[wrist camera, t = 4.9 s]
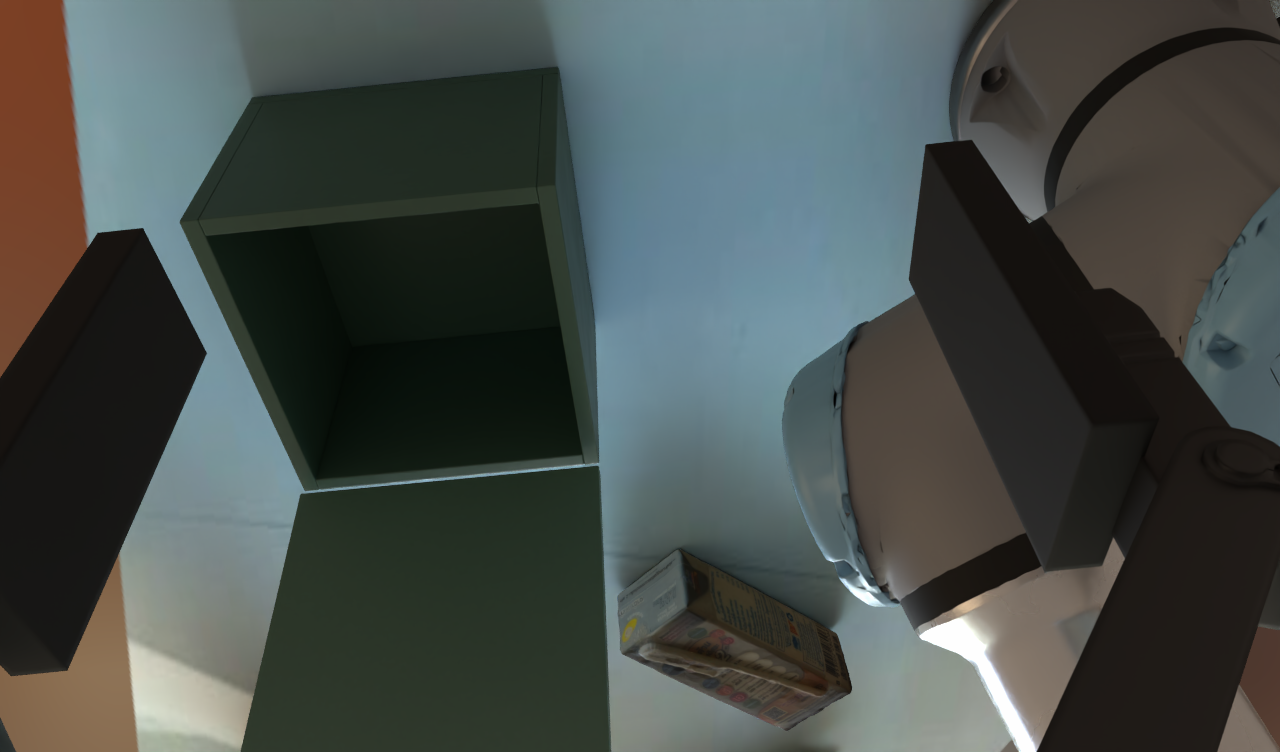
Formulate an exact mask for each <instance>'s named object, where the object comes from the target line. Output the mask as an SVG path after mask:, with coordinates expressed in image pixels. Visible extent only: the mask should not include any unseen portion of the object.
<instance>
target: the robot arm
mask: <svg viewBox="0 0 1280 752" xmlns="http://www.w3.org/2000/svg"><path fill="white" fill-rule="evenodd" d="M949 116H950V126H951V131H952V136H953V139H954V142H944V143H935V144H926V146H925V154H924V162H923V170H922V178H921V186H920V194H919V202H918V210H917V218H916V226H915V234H914V242H913V250H912V258H911V266H910V274H909V281H910V283H911V285H912V287H913V290H914V292H915V295H913V296H911V297H910V298H908V299H907V300H905V301H903V302H902V303H900V304H898V305H897V306H895V307H893V308H892V309H890V310H888V311H887V312H885V313H883V314H882V315H880V316H878V317H877V318H875V319H873V320H872V321H870V322H868V321H866V322H863V323H861V324H859V325H857V326H856V327H853V328H852V329H851V330H850V331H849V332H848V334H847V335H846V337H845V338H844V339H843V340H841V341H840V342H839V343H837V344H836V345H834V346H833V347H832V348H830V349H829V350H828V351H826V352H825V353H823V354H822V355H820V356H819V357H817V358H816V359H814V360H813V361H812V362H810V363H809V364H807V365H806V366H805V367H803V368H802V369H801V370H800V371H799V372H798V373H797V375H796V376H795V377H794V379H793V380H792V382H791V384H790V386H789V388H788V391H787V395H786V398H785V401H784V412H783V418H782V432H783V443H784V449H785V455H786V460H787V464H788V469H789V473H790V477H791V480H792V484H793V487H794V490H795V493H796V496H797V499H798V501H799V504H800V507H801V509H802V512H803V514H804V517H805V519H806V522H807V524H808V526H809V528H810V530H811V533H812V535H813V537H814V539H815V541H816V543H817V545H818V546H819V548H820V550H821V552H822V553H823V555H824V556H825V558H826V559H827V560H829V561H832V562H834V565H835V568H836V571H837V574H838V577H839V579H840V580H841V581H842V583H843V584H844V585H845V586H846V587H847V588H848V590H849V591H850V592H851V593H852V594H854V595H855V596H856V597H857V598H859V599H860V600H862V601H864V602H865V603H867V604H868V605H871V606H876V607H880V606H886V607H897V606H899V605H902V607H903V609H904V611H905V613H906V615H907V617H908V619H909V621H910V623H911V625H912V627H913V629H914V631H915V632H916V634H917V635H918V637H919V638H920V639H922V640H925V641H927V642H930V643H932V644H935V645H938V646H940V647H943V648H945V649H948V650H950V651H953V652H955V653H958V654H960V655H961V656H963V657H964V658H965V659H967V660H968V661H969V662H971V663H972V664H973V666H974V668H975V670H976V672H977V674H978V676H979V677H980V679H981V681H982V683H983V685H984V687H985V689H986V691H987V693H988V694H989V696H990V698H991V700H992V702H993V704H994V706H995V708H996V710H997V712H998V713H999V715H1000V717H1001V719H1002V721H1003V723H1004V725H1005V727H1006V729H1007V730H1008V732H1009V734H1010V736H1011V738H1012V740H1013V742H1014V744H1015V746H1016V747H1017V749H1018V751H1019V752H1280V748H1279V747H1278V745H1277V743H1276V742H1275V740H1274V739H1273V737H1272V736H1271V734H1270V732H1269V731H1268V729H1267V728H1266V726H1265V724H1264V723H1263V721H1262V720H1261V718H1260V717H1259V715H1258V714H1257V712H1256V710H1255V709H1254V707H1253V706H1252V704H1251V702H1250V701H1249V699H1248V698H1247V696H1246V694H1245V693H1244V691H1243V690H1242V688H1241V687H1240V685H1239V683H1240V680H1241V677H1242V674H1243V670H1244V668H1245V665H1246V661H1247V658H1248V655H1249V652H1250V649H1251V646H1252V643H1253V640H1254V636H1255V634H1256V630H1257V627H1258V626H1259V627H1265V628H1270V629H1276V630H1280V17H1279V18H1277V19H1276V17H1275V14H1274V12H1273V9H1272V7H1271V4H1270V2H1269V0H993V2H992V3H991V4H990V6H989V7H988V8H987V10H986V11H985V12H984V13H983V15H982V16H981V18H980V19H979V21H978V22H977V24H976V26H975V27H974V29H973V30H972V32H971V34H970V36H969V38H968V40H967V41H966V44H965V46H964V48H963V50H962V53H961V55H960V57H959V60H958V63H957V66H956V69H955V72H954V76H953V81H952V85H951V92H950V101H949ZM1025 217H1026V218H1028V219H1030V220H1032V221H1033V222H1031V223H1028V222H1027V220H1026V219H1025ZM206 354H207V353H206V351H205V349H204V347H203V345H202V343H201V341H200V339H199V337H198V335H197V333H196V331H195V329H194V327H193V325H192V323H191V321H190V319H189V317H188V315H187V313H186V311H185V309H184V308H183V306H182V304H181V302H180V300H179V298H178V296H177V294H176V292H175V290H174V288H173V286H172V284H171V282H170V280H169V278H168V276H167V274H166V272H165V270H164V268H163V266H162V264H161V262H160V261H159V259H158V257H157V255H156V253H155V251H154V249H153V247H152V245H151V243H150V241H149V239H148V237H147V235H146V233H145V231H144V229H143V228H139V229H130V230H120V231H111V232H102V233H97V235H96V236H95V238H94V239H93V241H92V242H91V244H90V245H89V247H88V248H87V250H86V251H85V253H84V254H83V256H82V257H81V259H80V260H79V262H78V263H77V265H76V266H75V268H74V269H73V271H72V272H71V274H70V275H69V276H68V278H67V279H66V281H65V283H64V284H63V285H62V287H61V288H60V290H59V291H58V293H57V294H56V296H55V297H54V299H53V300H52V302H51V303H50V305H49V306H48V308H47V309H46V311H45V312H44V314H43V315H42V317H41V318H40V320H39V321H38V323H37V324H36V325H35V327H34V329H33V330H32V332H31V333H30V334H29V336H28V337H27V339H26V340H25V342H24V344H23V345H22V347H21V348H20V350H19V351H18V352H17V354H16V355H15V357H14V358H13V360H12V361H11V363H10V364H9V366H8V367H7V369H6V370H5V372H4V373H3V375H2V376H1V378H0V665H1V666H2V667H3V668H4V669H5V670H6V671H7V672H8V674H10V676H18V675H28V674H37V673H48V672H58V671H67V670H68V668H69V666H70V663H71V661H72V659H73V656H74V654H75V652H76V650H77V647H78V645H79V643H80V641H81V638H82V636H83V634H84V631H85V629H86V627H87V625H88V622H89V620H90V618H91V615H92V613H93V611H94V609H95V606H96V604H97V601H98V600H99V597H100V595H101V593H102V590H103V588H104V586H105V584H106V581H107V579H108V577H109V575H110V572H111V570H112V568H113V566H114V563H115V561H116V559H117V556H118V554H119V552H120V550H121V547H122V545H123V543H124V541H125V538H126V536H127V534H128V531H129V529H130V527H131V525H132V522H133V520H134V518H135V516H136V513H137V511H138V509H139V506H140V504H141V502H142V500H143V497H144V495H145V493H146V491H147V488H148V486H149V484H150V481H151V479H152V477H153V475H154V472H155V470H156V468H157V465H158V463H159V461H160V459H161V456H162V454H163V452H164V450H165V447H166V445H167V443H168V440H169V438H170V436H171V434H172V431H173V429H174V427H175V425H176V422H177V420H178V418H179V415H180V413H181V411H182V409H183V406H184V404H185V402H186V400H187V397H188V395H189V393H190V390H191V388H192V386H193V384H194V381H195V379H196V377H197V374H198V372H199V370H200V368H201V365H202V363H203V361H204V359H205V356H206ZM0 752H16V751H15V749H14V747H13V744H12V742H11V740H10V738H9V736H8V734H7V731H6V730H5V727H4V725H3V723H2V721H1V718H0Z"/></svg>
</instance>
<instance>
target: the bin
mask: <svg viewBox="0 0 1280 752" xmlns="http://www.w3.org/2000/svg"><path fill="white" fill-rule="evenodd" d="M180 224H181V226H182V228H183V231H184V233H185V235H186V237H187V239H188V241H189V243H190V246H191V248H192V250H193V252H194V254H195V256H196V258H197V261H198V263H199V265H200V267H201V269H202V271H203V273H204V276H205V278H206V280H207V282H208V284H209V286H210V289H211V291H212V293H213V295H214V297H215V299H216V301H217V304H218V306H219V308H220V310H221V312H222V314H223V316H224V319H225V321H226V323H227V325H228V327H229V329H230V331H231V334H232V336H233V338H234V340H235V342H236V344H237V346H238V349H239V351H240V353H241V355H242V357H243V359H244V362H245V364H246V366H247V368H248V370H249V372H250V374H251V377H252V379H253V381H254V383H255V385H256V387H257V389H258V392H259V394H260V396H261V398H262V400H263V402H264V404H265V407H266V409H267V411H268V413H269V415H270V417H271V419H272V422H273V424H274V426H275V428H276V430H277V432H278V435H279V437H280V439H281V441H282V443H283V445H284V447H285V450H286V452H287V454H288V456H289V458H290V460H291V462H292V465H293V467H294V469H295V471H296V473H297V475H298V477H299V480H300V482H301V484H302V486H303V488H304V490H305V491H312V490H319V489H321V490H322V489H332V488H343V487H353V486H364V485H374V484H385V483H395V482H406V481H417V480H427V479H438V478H448V477H459V476H469V475H480V474H491V473H501V472H512V471H522V470H533V469H543V468H554V467H564V466H575V465H583V464H585V465H586V464H597V463H599V435H598V400H597V366H596V333H595V319H594V312H593V305H592V298H591V291H590V284H589V277H588V270H587V263H586V256H585V249H584V242H583V235H582V227H581V220H580V213H579V206H578V199H577V192H576V185H575V178H574V171H573V164H572V157H571V150H570V143H569V136H568V128H567V121H566V114H565V107H564V100H563V93H562V86H561V79H560V72H559V68H558V67H554V68H544V69H534V70H524V71H514V72H504V73H494V74H484V75H474V76H464V77H454V78H444V79H434V80H424V81H414V82H404V83H394V84H384V85H374V86H364V87H354V88H344V89H334V90H324V91H314V92H304V93H294V94H284V95H274V96H264V97H254V98H252V99H251V100H250V102H249V104H248V105H247V107H246V109H245V111H244V112H243V114H242V116H241V117H240V119H239V121H238V123H237V124H236V126H235V128H234V129H233V131H232V133H231V135H230V136H229V138H228V140H227V141H226V143H225V145H224V147H223V148H222V150H221V152H220V153H219V155H218V157H217V158H216V160H215V162H214V164H213V165H212V167H211V169H210V170H209V172H208V174H207V176H206V177H205V179H204V181H203V182H202V184H201V186H200V188H199V189H198V191H197V193H196V194H195V196H194V198H193V200H192V201H191V203H190V205H189V206H188V208H187V210H186V212H185V213H184V215H183V217H182V218H181V220H180Z"/></svg>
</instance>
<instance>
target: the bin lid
mask: <svg viewBox="0 0 1280 752" xmlns="http://www.w3.org/2000/svg"><path fill="white" fill-rule="evenodd" d="M241 752H611V731H610V706H609V681H608V655H607V630H606V605H605V579H604V554H603V529H602V503H601V478H600V470H599V466H592V467H581V468H571V469H560V470H549V471H539V472H528V473H518V474H507V475H497V476H486V477H475V478H465V479H454V480H444V481H433V482H423V483H412V484H401V485H391V486H380V487H370V488H359V489H349V490H338V491H328V492H317V493H306V494H301V495H300V499H299V503H298V507H297V512H296V516H295V520H294V525H293V529H292V533H291V537H290V542H289V546H288V550H287V555H286V559H285V563H284V567H283V572H282V576H281V580H280V585H279V589H278V593H277V598H276V602H275V606H274V610H273V615H272V619H271V623H270V628H269V632H268V636H267V640H266V645H265V649H264V653H263V658H262V662H261V666H260V671H259V675H258V679H257V683H256V688H255V692H254V696H253V701H252V705H251V709H250V713H249V718H248V722H247V726H246V731H245V735H244V739H243V743H242V748H241Z"/></svg>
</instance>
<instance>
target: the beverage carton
mask: <svg viewBox="0 0 1280 752" xmlns="http://www.w3.org/2000/svg"><path fill="white" fill-rule="evenodd" d="M618 618H619V627H620V651H621V653H622V654H623V655H625V656H627V657H629V658H632V659H634V660H636V661H638V662H639V663H642V664H644V665H646V666H649V667H651V668H653V669H655V670H656V671H658V672H660V673H662V674H664V675H666V676H668V677H671V678H673V679H675V680H677V681H679V682H681V683H683V684H686V685H688V686H690V687H692V688H694V689H696V690H698V691H700V692H702V693H704V694H707V695H709V696H711V697H713V698H715V699H717V700H719V701H722V702H724V703H726V704H728V705H730V706H732V707H734V708H737V709H739V710H741V711H743V712H746V713H748V714H750V715H752V716H754V717H756V718H759V719H761V720H763V721H765V722H768V723H770V724H772V725H774V726H777V727H780V728H782V729H784V730H785V731H788V730H790V729H791V728H793V727H794V726H796V725H797V724H798V723H800V722H801V721H803V720H805V719H807V718H808V717H809V716H812V715H815V714H817V713H818V712H820V711H822V710H823V709H824V708H825V707H827V706H829V705H830V704H831V703H833V702H835V701H837V700H839V699H841V698H843V697H844V696H846V695H848V694H850V693H851V691H852V685H851V681H850V677H849V673H848V669H847V666H846V663H845V659H844V654H843V652H842V649H841V645H840V642H839V638H838V636H837V634H836V633H835V632H833V631H831V630H829V629H827V628H826V627H824V626H822V625H820V624H819V623H817V622H815V621H813V620H811V619H809V618H808V617H806V616H804V615H802V614H800V613H798V612H796V611H795V610H793V609H791V608H789V607H787V606H785V605H783V604H782V603H780V602H778V601H776V600H774V599H773V598H771V597H769V596H767V595H765V594H763V593H761V592H759V591H757V590H756V589H754V588H752V587H750V586H748V585H746V584H744V583H743V582H741V581H739V580H737V579H735V578H734V577H732V576H730V575H728V574H726V573H724V572H722V571H720V570H719V569H717V568H715V567H713V566H711V565H709V564H707V563H705V562H702V561H700V560H699V559H697V558H695V557H693V556H691V555H689V554H687V553H686V552H684V551H682V550H681V549H677V550H676V551H674V552H673V553H672V554H671V555H670V556H668V557H667V558H665V559H664V560H663V561H661V562H660V563H659V564H658V565H656V566H655V567H654V568H652V569H651V570H650V571H649V572H647V573H646V574H645V575H644V576H642V577H641V578H640V579H638V580H637V581H636V582H634V583H633V584H632V585H630V586H629V587H627V588H626V589H625V590H624V591H622V592H621V593H620V594H619V595H618Z"/></svg>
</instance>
